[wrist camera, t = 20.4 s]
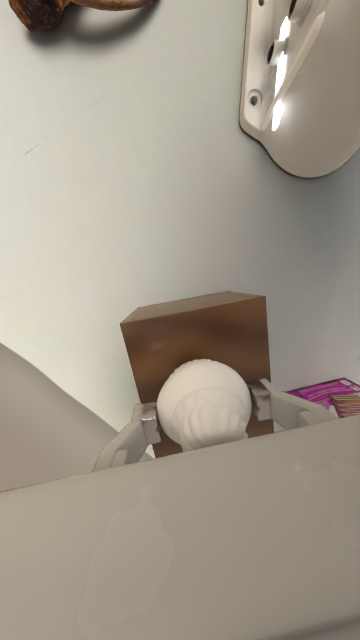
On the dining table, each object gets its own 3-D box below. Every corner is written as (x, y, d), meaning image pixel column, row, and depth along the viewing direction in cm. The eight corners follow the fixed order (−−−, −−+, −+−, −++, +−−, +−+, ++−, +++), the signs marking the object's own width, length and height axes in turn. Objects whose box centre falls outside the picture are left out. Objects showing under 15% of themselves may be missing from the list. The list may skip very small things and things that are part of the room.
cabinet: (238, 382, 28) (274, 433, 19) (159, 398, 27) (155, 458, 18) (228, 290, 24) (265, 296, 15) (138, 307, 24) (119, 323, 15)
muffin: (236, 345, 14) (301, 404, 7) (224, 409, 15) (270, 509, 9) (162, 339, 14) (157, 397, 7) (156, 406, 15) (147, 511, 8)
